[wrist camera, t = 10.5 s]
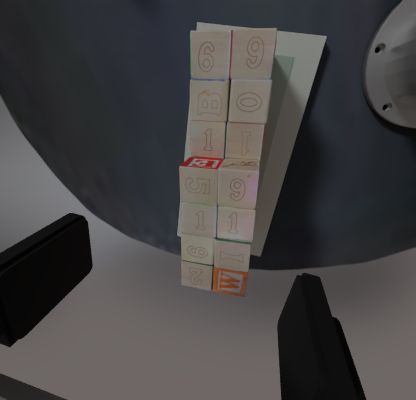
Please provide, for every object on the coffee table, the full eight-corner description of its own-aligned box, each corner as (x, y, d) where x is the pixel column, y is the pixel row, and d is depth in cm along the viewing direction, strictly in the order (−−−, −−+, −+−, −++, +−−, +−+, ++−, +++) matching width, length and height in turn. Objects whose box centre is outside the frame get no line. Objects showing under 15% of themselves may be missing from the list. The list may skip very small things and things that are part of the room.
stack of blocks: (214, 52, 24) (174, 12, 13) (274, 52, 23) (285, 8, 12) (207, 225, 33) (180, 287, 22) (251, 231, 32) (244, 300, 21)
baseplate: (323, 39, 23) (326, 36, 22) (260, 251, 34) (260, 257, 33) (200, 25, 25) (197, 22, 23) (179, 231, 36) (176, 236, 35)
